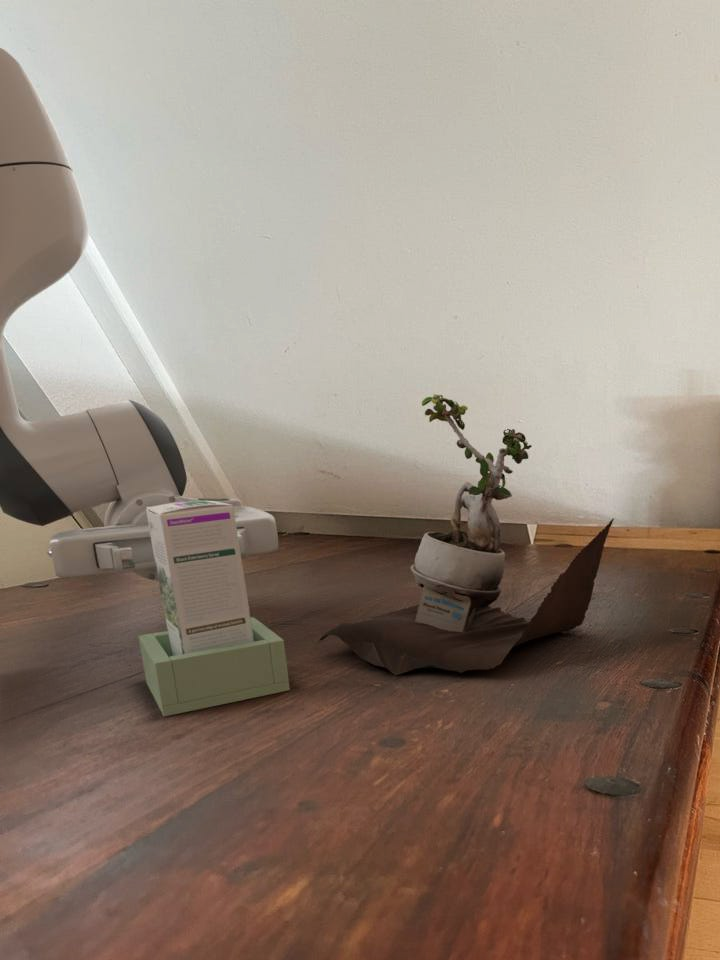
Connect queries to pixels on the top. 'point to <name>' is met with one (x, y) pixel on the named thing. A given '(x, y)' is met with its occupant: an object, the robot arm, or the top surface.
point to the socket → (214, 671)
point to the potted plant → (470, 582)
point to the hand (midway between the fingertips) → (182, 552)
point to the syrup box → (200, 575)
